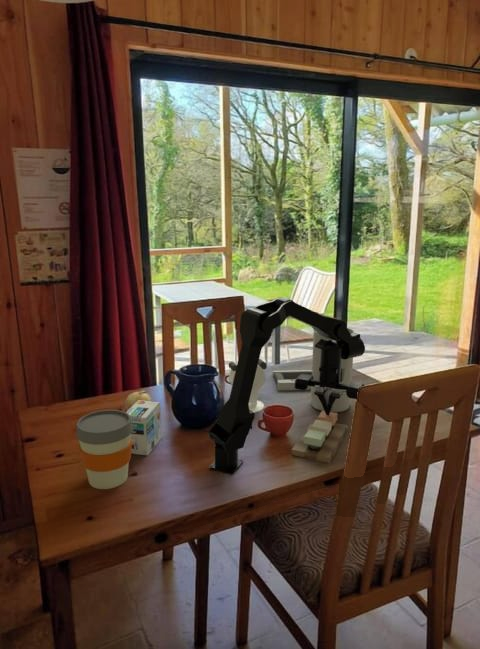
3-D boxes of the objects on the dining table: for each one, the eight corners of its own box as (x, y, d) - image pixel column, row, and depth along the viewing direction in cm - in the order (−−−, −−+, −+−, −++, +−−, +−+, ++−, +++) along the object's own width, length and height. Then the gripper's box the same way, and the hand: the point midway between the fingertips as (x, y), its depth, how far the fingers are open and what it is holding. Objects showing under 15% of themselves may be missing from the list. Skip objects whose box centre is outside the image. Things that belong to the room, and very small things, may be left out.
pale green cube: (320, 452, 125) (320, 439, 124) (303, 448, 127) (304, 436, 126) (324, 444, 129) (325, 432, 128) (308, 441, 131) (309, 429, 130)
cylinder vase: (349, 399, 163) (353, 326, 156) (350, 415, 151) (355, 337, 145) (311, 396, 165) (314, 324, 159) (309, 412, 153) (313, 335, 147)
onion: (144, 418, 148) (142, 397, 146) (121, 415, 151) (119, 393, 149) (156, 408, 156) (155, 387, 154) (134, 405, 158) (133, 384, 156)
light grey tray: (278, 382, 169) (272, 363, 185) (277, 394, 171) (272, 375, 186) (327, 381, 170) (317, 362, 186) (326, 393, 172) (316, 374, 187)
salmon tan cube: (333, 430, 137) (333, 419, 136) (317, 427, 138) (318, 416, 138) (336, 424, 141) (337, 413, 140) (322, 421, 142) (322, 410, 141)
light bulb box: (148, 456, 127) (146, 418, 124) (123, 453, 128) (121, 415, 125) (162, 437, 137) (161, 401, 134) (139, 434, 138) (137, 399, 135)
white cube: (326, 441, 131) (327, 429, 130) (311, 437, 133) (311, 425, 132) (331, 434, 135) (331, 422, 134) (315, 430, 137) (316, 419, 136)
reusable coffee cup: (122, 496, 110) (118, 435, 106) (70, 490, 112) (65, 430, 108) (143, 467, 122) (140, 411, 118) (95, 462, 124) (91, 407, 120)
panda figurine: (257, 397, 164) (258, 354, 160) (271, 410, 154) (272, 365, 150) (223, 402, 160) (223, 358, 156) (235, 416, 150) (235, 370, 146)
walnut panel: (329, 463, 123) (329, 457, 123) (291, 454, 128) (291, 449, 127) (347, 430, 141) (347, 425, 141) (313, 423, 145) (313, 418, 145)
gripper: (370, 358, 138) (366, 409, 142) (306, 349, 146) (304, 398, 149) (362, 370, 128) (358, 425, 132) (294, 360, 136) (293, 412, 140)
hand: (327, 414), depth 139 cm, fingers closed
